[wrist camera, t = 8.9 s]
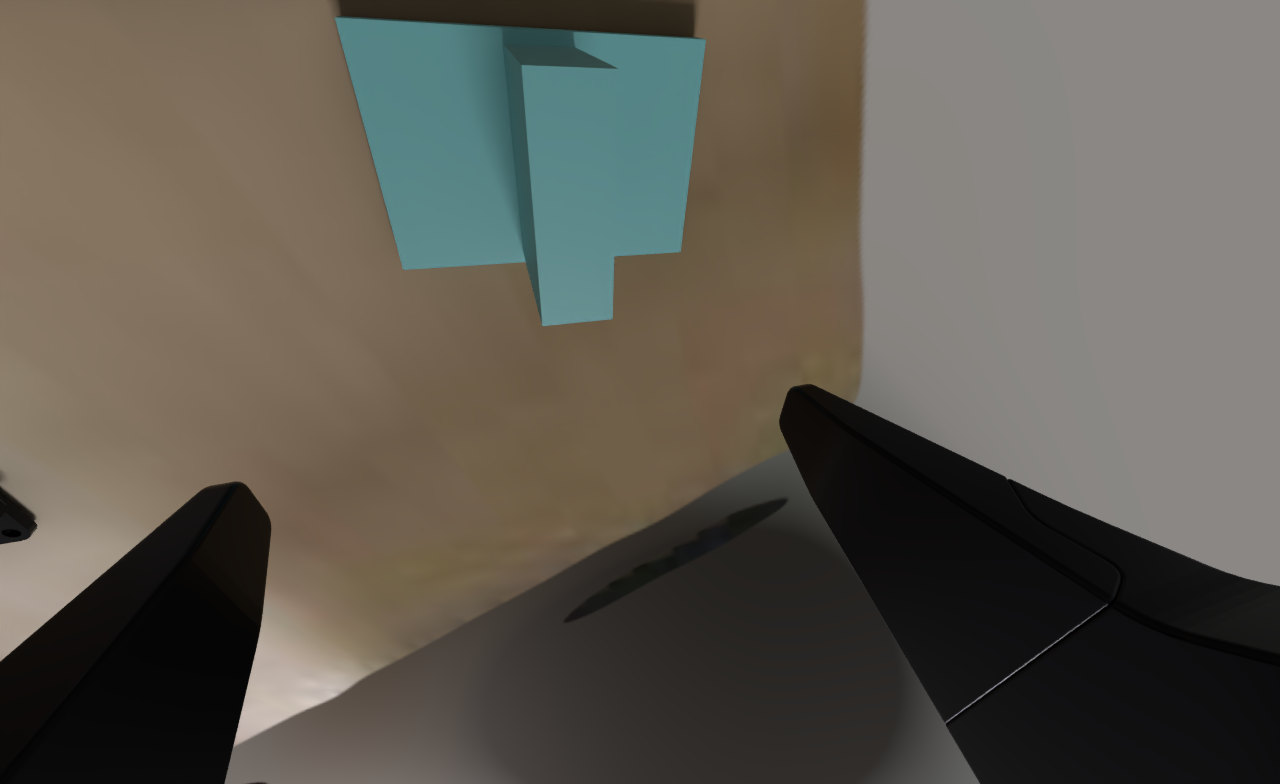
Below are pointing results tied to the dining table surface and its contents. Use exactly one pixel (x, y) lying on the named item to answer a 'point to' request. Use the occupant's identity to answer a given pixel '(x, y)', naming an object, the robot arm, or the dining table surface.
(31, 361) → the dining table surface
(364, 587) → the dining table surface
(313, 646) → the dining table surface
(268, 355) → the dining table surface
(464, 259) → the stub
